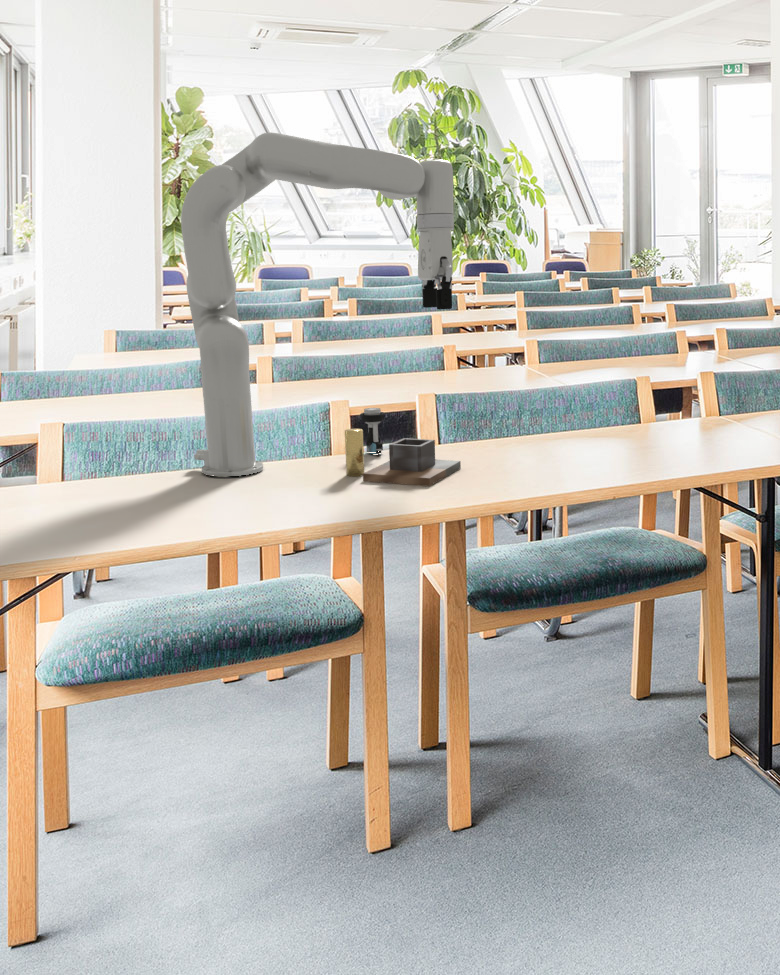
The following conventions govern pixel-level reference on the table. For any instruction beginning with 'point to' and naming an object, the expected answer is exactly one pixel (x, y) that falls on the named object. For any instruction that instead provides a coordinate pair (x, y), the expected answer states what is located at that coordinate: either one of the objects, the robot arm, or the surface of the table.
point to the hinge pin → (354, 452)
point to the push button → (373, 429)
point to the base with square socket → (412, 464)
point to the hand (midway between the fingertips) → (437, 308)
